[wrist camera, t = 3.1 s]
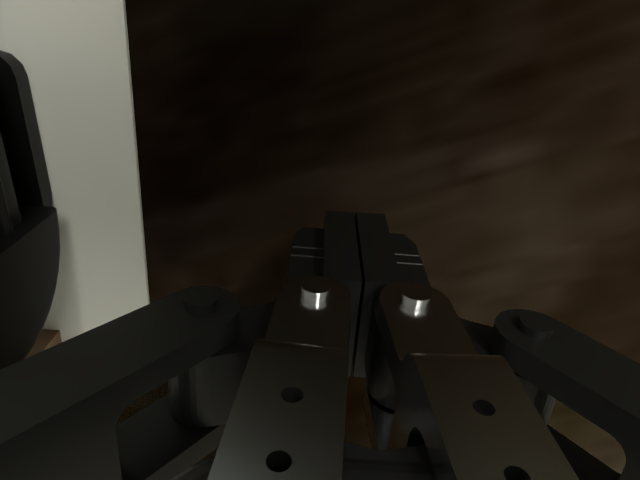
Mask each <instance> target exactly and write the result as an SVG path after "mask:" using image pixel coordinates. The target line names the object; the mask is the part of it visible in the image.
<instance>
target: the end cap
mask: <svg viewBox="0 0 640 480" xmlns="http://www.w3.org/2000/svg"><path fill="white" fill-rule="evenodd" d="M59 261H60V231H59V222H58V215H57V209H56V208H55V207H53V203H52V191H51V186H50V182H49V177H48V172H47V167H46V162H45V157H44V152H43V147H42V143H41V138H40V133H39V128H38V123H37V118H36V113H35V108H34V103H33V99H32V94H31V89H30V84H29V79H28V75H27V73H26V71H25V69H24V66H23V64H22V63H21V62H20V61H19V60H18V59H17V58H15V57H14V56H13V55H12V54H11V53H7V52H4V51H1V50H0V370H1V369H3V368H5V367H7V366H10V365H12V364H14V363H16V362H19V361H21V360H23V359H25V357H26V356H27V354H28V353H29V352H30V350H31V349H32V347H33V346H34V344H35V342H36V340H37V339H38V337H39V335H40V333H41V331H42V329H43V327H44V324H45V322H46V319H47V317H48V314H49V311H50V309H51V305H52V301H53V298H54V294H55V290H56V284H57V278H58V272H59Z"/></svg>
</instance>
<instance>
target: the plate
mask: <svg viewBox="0 0 640 480" xmlns="http://www.w3.org/2000/svg"><path fill="white" fill-rule="evenodd" d="M0 50H1V51H4V52H7V53H11V54H12V55H13V56H14V57H15V58H17V59H18V60H19V61H20V62H21V63H22V64H23V66H24V69H25V71H26V73H27V75H28V79H29V84H30V89H31V94H32V99H33V103H34V108H35V113H36V118H37V123H38V128H39V133H40V138H41V143H42V147H43V152H44V157H45V162H46V167H47V172H48V177H49V182H50V186H51V191H52V203H53V207H55V208H56V209H57V215H58V222H59V231H60V261H59V272H58V278H57V284H56V290H55V294H54V298H53V301H52V305H51V309H50V311H49V314H48V317H47V319H46V322H45V324H44V327H43V329H51V330H60V335H61V340H62V342H64V341H66V340H69V339H71V338H73V337H75V336H78V335H80V334H82V333H84V332H87V331H89V330H91V329H94V328H96V327H98V326H100V325H103V324H105V323H107V322H109V321H112V320H114V319H116V318H118V317H121V316H123V315H125V314H128V313H130V312H132V311H134V310H137V309H139V308H141V307H143V306H146V305H148V304H150V299H149V287H148V275H147V262H146V250H145V238H144V226H143V214H142V201H141V189H140V177H139V165H138V153H137V140H136V128H135V116H134V104H133V91H132V79H131V67H130V55H129V43H128V30H127V18H126V6H125V0H0Z"/></svg>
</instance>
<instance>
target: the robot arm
mask: <svg viewBox="0 0 640 480" xmlns="http://www.w3.org/2000/svg"><path fill="white" fill-rule="evenodd" d="M351 365H352V366H353V377H365V378H366V382H367V386H366V393H365V399H364V410H365V416H366V421H367V426H368V431H369V437H370V442H371V447H372V449H371V448H367V447H363V446H360V445H356V444H353V443H349V442H345V441H344V433H345V416H346V399H347V382H348V377H350V373H351ZM167 381H168V391H169V394H167V395H165V396H164V397H162V398H160V399H159V400H157V401H155V402H154V403H152V404H151V405H149V406H147V407H146V408H144V409H142V410H141V411H139V412H137V413H136V414H134V415H132V416H131V417H129V418H127V419H126V420H124V421H122V422H121V423H119V424H118V425H116V424H117V421H118V419H119V417H120V415H121V414H122V412H123V411H124V410H125V408H126V407H127V406H128V405H129V404H131V403H132V402H133V401H135V400H136V399H138V398H140V397H142V396H143V395H145V394H147V393H148V392H150V391H152V390H153V389H155V388H157V387H159V386H160V385H162V384H164V383H165V382H167ZM556 399H557V400H558V401H560V402H562V403H563V404H565V405H566V406H568V407H569V408H571V409H572V410H574V411H575V412H577V413H579V414H580V415H582V416H583V417H585V418H586V419H588V420H589V421H591V422H593V423H594V424H596V425H597V426H599V427H600V428H602V429H603V430H605V431H606V432H608V433H609V434H611V435H612V436H613V437H614V438H615V439H616V440H617V441H618V442H619V443H620V445H621V446H622V448H623V450H624V452H625V455H626V465H625V467H624V469H623V472H622V474H619V473H617V472H615V471H614V470H612V469H611V468H609V467H608V466H607V465H605V464H604V463H602V462H601V461H599V460H598V459H597V458H595V457H594V456H592V455H591V454H589V453H588V452H586V451H585V450H584V449H582V448H581V447H579V446H578V445H576V444H575V443H573V442H572V441H571V440H569V439H568V438H566V437H565V436H563V435H562V434H560V433H559V432H558V431H556V430H555V429H553V428H552V427H550V426H549V425H547V424H548V421H549V418H550V415H551V412H552V410H553V407H554V404H555V401H556ZM217 447H218V449H217V452H216V455H215V457H213V458H210V459H207V460H205V461H202V462H200V463H198V462H199V461H200V460H202V459H203V458H204V457H206V456H207V455H208V454H210V453H211V452H212V451H214V450H215V449H216V448H217ZM196 463H198V464H196ZM195 464H196V465H195ZM0 480H640V364H639V363H637V362H635V361H633V360H631V359H629V358H627V357H625V356H624V355H622V354H620V353H618V352H616V351H614V350H612V349H610V348H608V347H607V346H605V345H603V344H601V343H599V342H597V341H595V340H593V339H591V338H590V337H588V336H586V335H584V334H582V333H580V332H578V331H576V330H574V329H573V328H571V327H569V326H567V325H565V324H563V323H561V322H559V321H557V320H556V319H554V318H551V317H549V316H547V315H544V314H542V313H538V312H535V311H530V310H523V309H512V310H506V311H504V312H501V313H500V314H498V316H497V317H496V319H495V323H494V327H490V326H486V325H482V324H479V323H475V322H471V321H468V320H464V319H462V318H459V317H458V316H457V314H456V312H455V310H454V308H453V306H452V304H451V302H450V301H449V299H448V298H447V297H446V296H445V295H444V294H443V293H441V292H440V291H438V290H436V289H434V288H432V287H431V286H430V283H429V281H428V278H427V275H426V272H425V269H424V267H423V265H422V261H421V258H420V257H419V253H418V250H417V247H416V244H415V243H413V242H412V241H411V240H410V239H409V238H407V237H406V236H405V235H404V234H390V233H389V230H388V226H387V222H386V218H385V215H384V214H371V213H358V212H356V213H355V217H354V212H343V211H330V210H325V217H324V228H323V229H321V228H307V227H303V228H302V229H301V230H299V231H298V232H297V233H296V234H295V235H294V236H293V243H292V250H291V257H290V264H289V271H288V278H287V282H285V283H284V284H283V285H282V286H281V288H280V291H279V294H278V297H277V299H276V300H274V301H272V302H269V303H267V304H263V305H260V306H254V307H246V308H240V302H239V300H238V298H237V297H236V296H235V295H234V294H233V293H231V292H229V291H227V290H224V289H221V288H217V287H209V286H199V287H191V288H187V289H183V290H180V291H177V292H175V293H173V294H171V295H168V296H166V297H164V298H162V299H159V300H157V301H155V302H152V303H150V304H148V305H146V306H143V307H141V308H139V309H137V310H134V311H132V312H130V313H128V314H125V315H123V316H121V317H118V318H116V319H114V320H112V321H109V322H107V323H105V324H103V325H100V326H98V327H96V328H94V329H91V330H89V331H87V332H84V333H82V334H80V335H78V336H75V337H73V338H71V339H69V340H66V341H64V342H62V343H59V344H57V345H55V346H53V347H50V348H48V349H46V350H44V351H41V352H39V353H37V354H35V355H32V356H30V357H28V358H25V359H23V360H21V361H19V362H16V363H14V364H12V365H10V366H7V367H5V368H3V369H1V370H0Z"/></svg>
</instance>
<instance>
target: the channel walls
mask: <svg viewBox="0 0 640 480" xmlns="http://www.w3.org/2000/svg"><path fill="white" fill-rule="evenodd" d="M59 343H62V340H61V335H60V330H51V329H42V331H41V333H40V335H39V337H38V339H37V340H36V342H35V344H34V346H33V347H32V349H31V350H30V352H29V353H28V354H27V356H26V357H25V358H28V357H30V356H32V355H35V354H37V353H39V352H41V351H44V350H46V349H48V348H50V347H53V346H55V345H57V344H59Z"/></svg>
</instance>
